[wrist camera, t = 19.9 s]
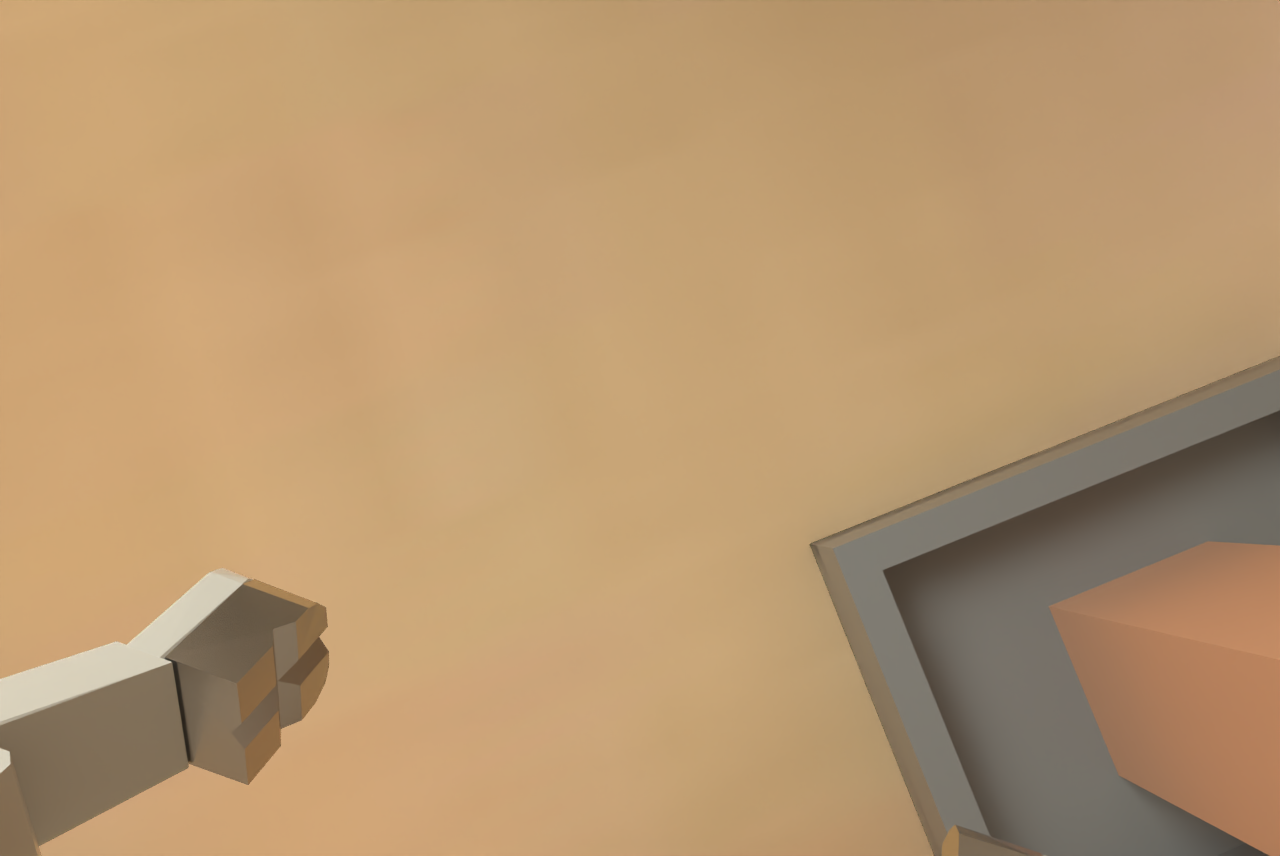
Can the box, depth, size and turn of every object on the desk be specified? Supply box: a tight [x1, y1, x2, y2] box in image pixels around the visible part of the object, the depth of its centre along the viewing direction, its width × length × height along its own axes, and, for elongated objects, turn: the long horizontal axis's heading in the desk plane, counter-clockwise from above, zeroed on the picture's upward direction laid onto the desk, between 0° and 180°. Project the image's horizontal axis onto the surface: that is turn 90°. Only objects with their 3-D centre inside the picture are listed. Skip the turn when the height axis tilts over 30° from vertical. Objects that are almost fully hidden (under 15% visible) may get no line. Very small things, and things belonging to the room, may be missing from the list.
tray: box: [810, 356, 1280, 856], centre depth 27 cm, size 13×16×3 cm
